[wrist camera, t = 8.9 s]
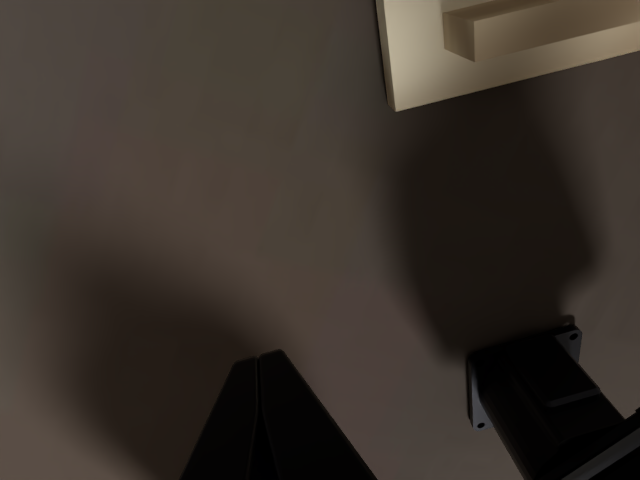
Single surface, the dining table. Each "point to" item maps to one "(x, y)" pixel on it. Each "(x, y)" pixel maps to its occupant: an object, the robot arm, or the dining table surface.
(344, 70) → the dining table surface
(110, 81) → the dining table surface
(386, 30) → the gauge bed
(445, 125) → the dining table surface
